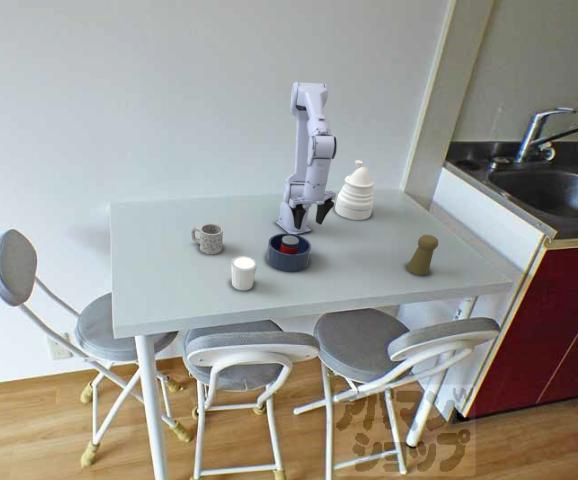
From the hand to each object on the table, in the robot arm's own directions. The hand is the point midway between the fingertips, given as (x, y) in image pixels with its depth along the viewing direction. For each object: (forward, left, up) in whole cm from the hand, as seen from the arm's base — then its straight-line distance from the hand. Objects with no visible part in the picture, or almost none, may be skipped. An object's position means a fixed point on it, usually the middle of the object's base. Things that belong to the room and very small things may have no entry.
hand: (308, 225), depth 122 cm
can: (+1, -6, -9) cm, 11 cm away
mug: (-15, -25, -10) cm, 31 cm away
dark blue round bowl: (+1, -6, -10) cm, 12 cm away
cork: (+21, +27, -10) cm, 35 cm away
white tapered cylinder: (+6, -24, -10) cm, 27 cm away
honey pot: (-16, +34, -10) cm, 39 cm away
